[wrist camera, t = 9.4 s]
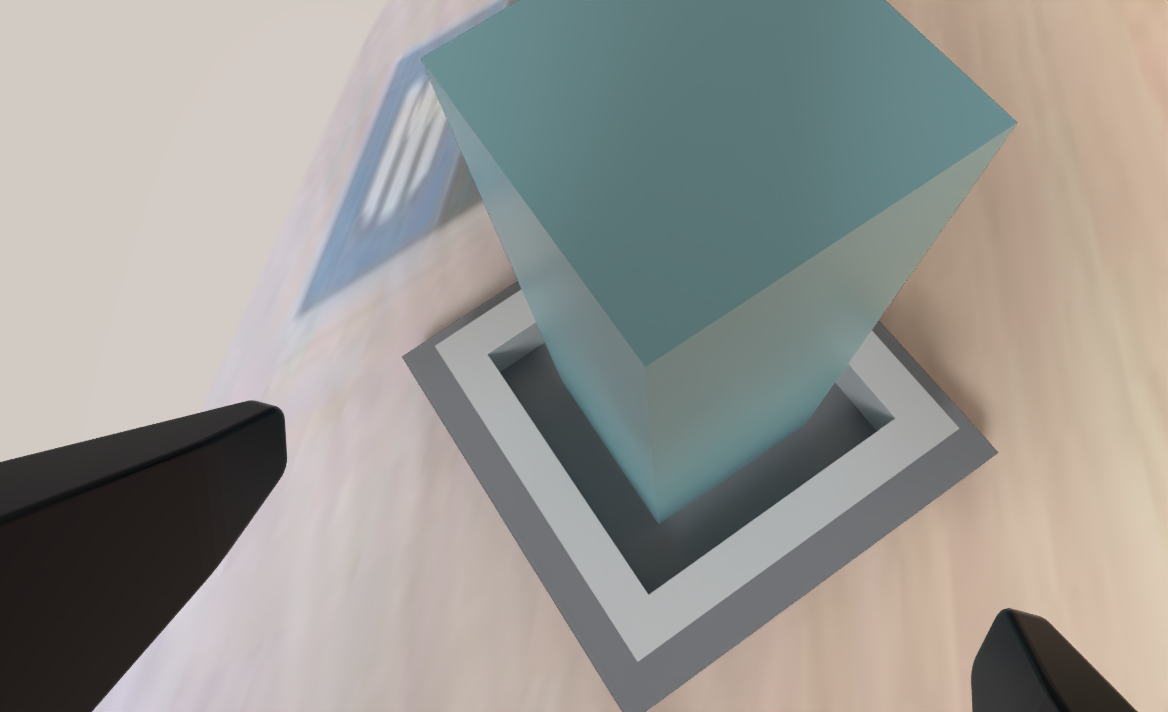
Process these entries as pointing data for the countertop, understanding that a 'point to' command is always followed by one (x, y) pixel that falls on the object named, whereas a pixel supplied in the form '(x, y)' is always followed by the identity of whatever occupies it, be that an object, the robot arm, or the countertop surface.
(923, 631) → the countertop surface
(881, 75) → the block
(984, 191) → the countertop surface
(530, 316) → the seat plate
